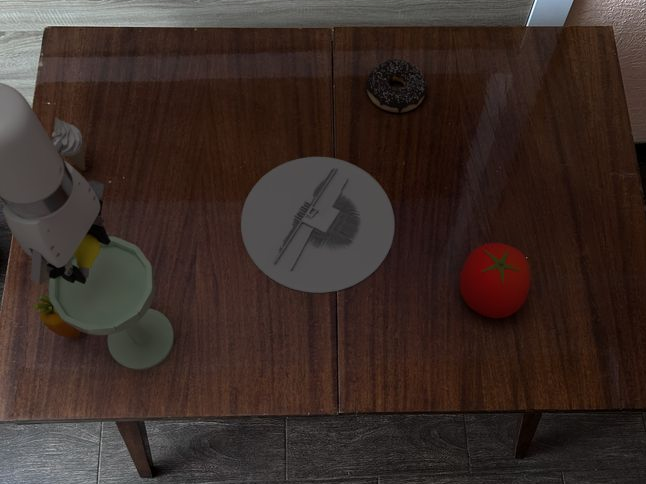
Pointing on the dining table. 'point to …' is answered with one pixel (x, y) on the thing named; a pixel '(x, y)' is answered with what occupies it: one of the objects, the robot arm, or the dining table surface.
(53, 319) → the carrot
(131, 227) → the dining table surface
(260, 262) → the plate
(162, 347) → the stand
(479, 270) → the tomato
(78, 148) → the ice cream cone
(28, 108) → the robot arm
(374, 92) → the donut
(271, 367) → the dining table surface
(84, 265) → the light bulb
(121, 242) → the platter
